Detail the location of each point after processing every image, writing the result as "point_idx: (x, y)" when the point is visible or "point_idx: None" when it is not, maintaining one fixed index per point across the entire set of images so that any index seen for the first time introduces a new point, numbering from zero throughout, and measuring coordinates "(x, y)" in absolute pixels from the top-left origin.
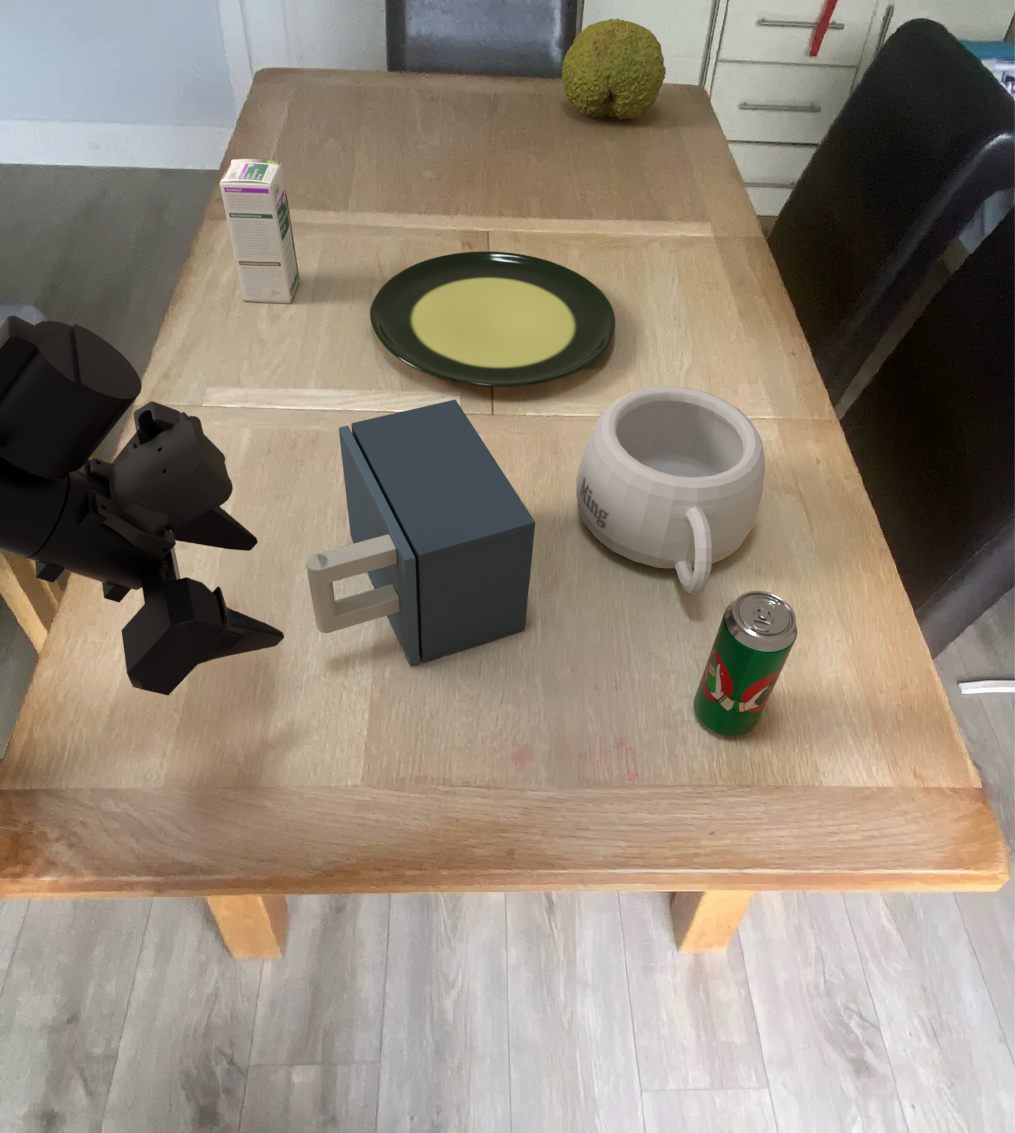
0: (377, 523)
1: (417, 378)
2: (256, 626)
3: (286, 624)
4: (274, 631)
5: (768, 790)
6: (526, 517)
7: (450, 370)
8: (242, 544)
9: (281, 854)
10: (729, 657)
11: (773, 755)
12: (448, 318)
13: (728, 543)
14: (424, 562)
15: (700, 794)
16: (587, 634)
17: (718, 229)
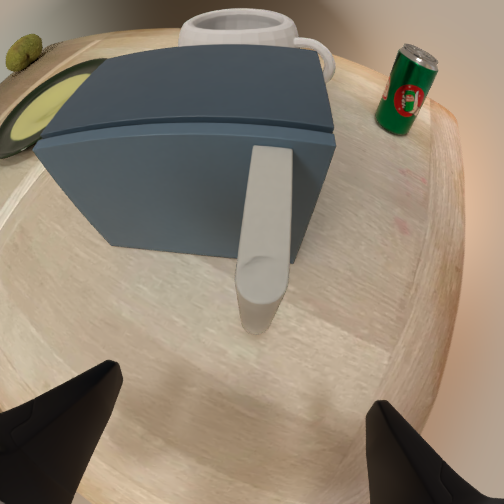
0: (188, 168)
1: None
2: (426, 452)
3: (176, 354)
4: (397, 417)
5: (432, 140)
6: (307, 51)
7: None
8: (111, 390)
9: (414, 425)
10: (425, 82)
11: (415, 127)
12: (29, 123)
13: None
14: None
15: (434, 162)
16: None
17: (100, 38)
